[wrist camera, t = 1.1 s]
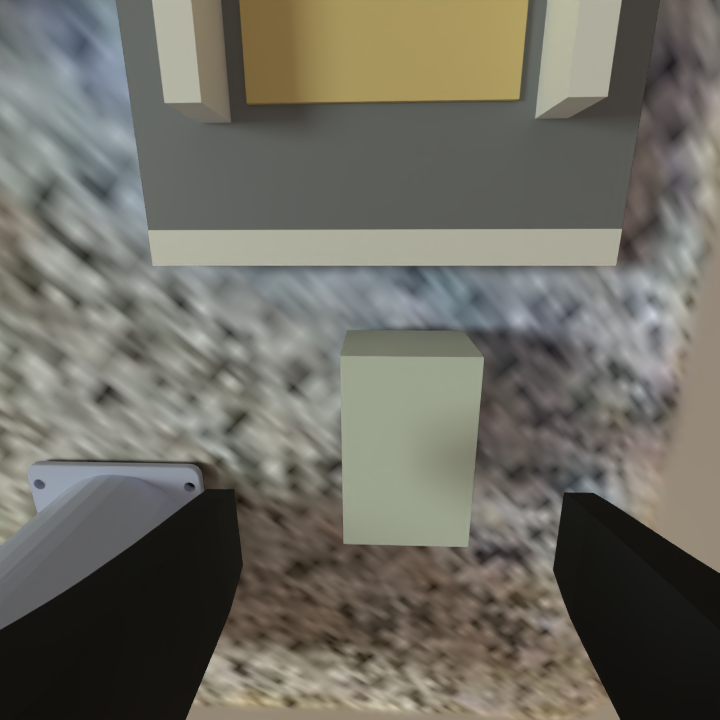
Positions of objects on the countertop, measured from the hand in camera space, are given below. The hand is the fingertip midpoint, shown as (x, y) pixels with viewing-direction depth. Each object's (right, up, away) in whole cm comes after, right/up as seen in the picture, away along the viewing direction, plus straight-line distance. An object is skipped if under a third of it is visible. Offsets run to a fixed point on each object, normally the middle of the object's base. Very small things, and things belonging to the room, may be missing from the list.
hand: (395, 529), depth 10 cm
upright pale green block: (+1, +2, +9) cm, 9 cm away
